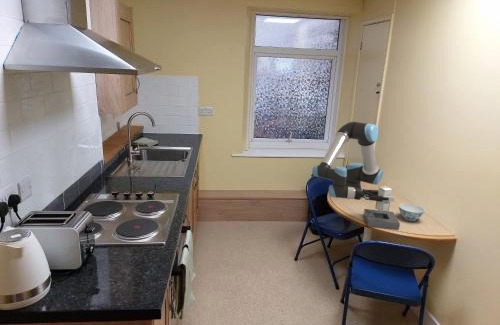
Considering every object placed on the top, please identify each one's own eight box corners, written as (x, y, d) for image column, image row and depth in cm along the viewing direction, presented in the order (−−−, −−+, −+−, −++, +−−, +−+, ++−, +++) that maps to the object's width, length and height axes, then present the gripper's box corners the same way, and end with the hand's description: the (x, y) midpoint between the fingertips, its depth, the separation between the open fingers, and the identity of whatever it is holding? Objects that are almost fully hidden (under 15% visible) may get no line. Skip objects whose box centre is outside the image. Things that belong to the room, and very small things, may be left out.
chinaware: (401, 212, 234) (402, 201, 232) (425, 218, 225) (427, 207, 223) (394, 218, 222) (395, 207, 220) (418, 226, 213) (421, 214, 211)
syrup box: (382, 207, 218) (385, 185, 215) (389, 211, 213) (392, 189, 210) (375, 208, 216) (378, 186, 213) (381, 212, 211) (385, 189, 207)
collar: (363, 214, 227) (364, 208, 226) (392, 217, 224) (393, 211, 223) (367, 226, 210) (368, 220, 209) (398, 229, 207) (399, 223, 206)
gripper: (351, 193, 226) (388, 197, 222) (355, 204, 206) (395, 208, 203) (353, 182, 224) (389, 186, 221) (357, 192, 205) (397, 196, 201)
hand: (392, 197), depth 212 cm, fingers closed on syrup box, 7 cm apart
